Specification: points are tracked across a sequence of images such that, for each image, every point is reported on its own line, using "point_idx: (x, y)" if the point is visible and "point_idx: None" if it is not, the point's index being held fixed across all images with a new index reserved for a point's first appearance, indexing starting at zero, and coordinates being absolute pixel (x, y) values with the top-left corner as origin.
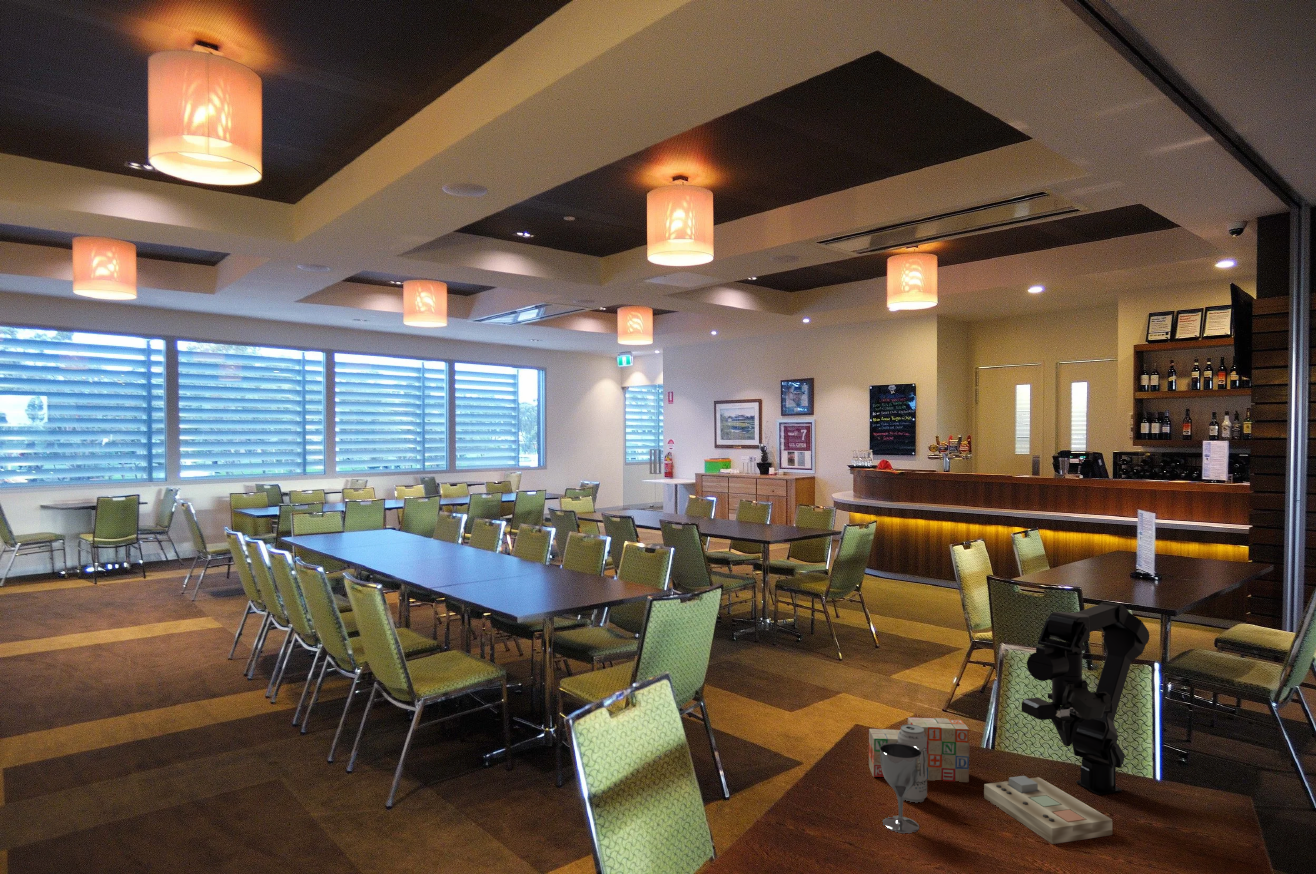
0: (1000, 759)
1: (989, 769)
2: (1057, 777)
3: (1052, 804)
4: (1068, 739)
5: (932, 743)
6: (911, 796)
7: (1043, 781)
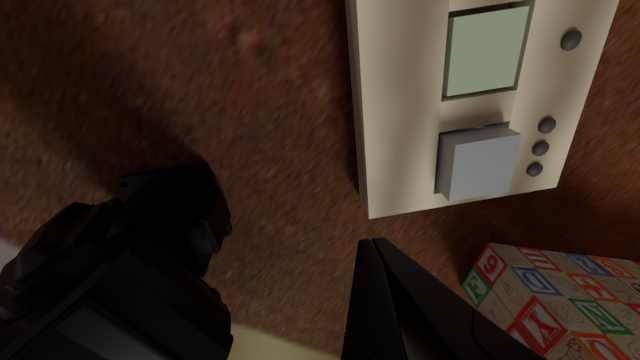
0: (340, 327)
1: None
2: (263, 258)
3: (484, 19)
4: (401, 266)
5: None
6: None
7: (376, 193)
